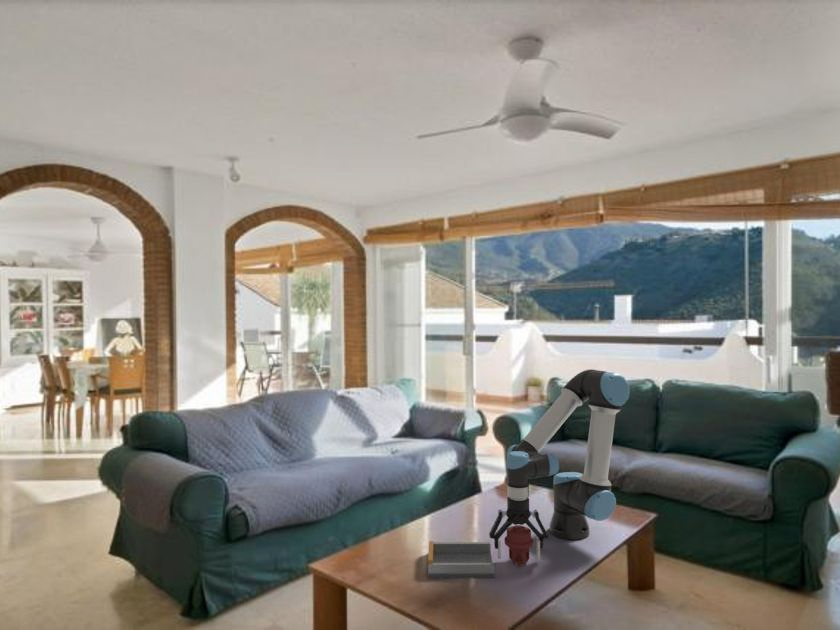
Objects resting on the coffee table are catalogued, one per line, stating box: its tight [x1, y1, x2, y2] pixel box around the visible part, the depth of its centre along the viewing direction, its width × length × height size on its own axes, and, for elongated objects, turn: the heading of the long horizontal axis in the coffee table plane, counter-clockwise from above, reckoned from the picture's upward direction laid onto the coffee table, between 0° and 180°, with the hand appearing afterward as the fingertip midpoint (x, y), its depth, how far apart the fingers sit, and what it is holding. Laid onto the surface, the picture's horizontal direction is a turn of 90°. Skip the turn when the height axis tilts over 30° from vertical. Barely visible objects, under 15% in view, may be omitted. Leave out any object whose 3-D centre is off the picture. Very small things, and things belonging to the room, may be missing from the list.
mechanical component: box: [504, 524, 534, 567], centre depth 199 cm, size 12×10×10 cm
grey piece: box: [427, 540, 496, 579], centre depth 197 cm, size 22×19×5 cm
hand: (518, 557), depth 199 cm, fingers open, 13 cm apart
